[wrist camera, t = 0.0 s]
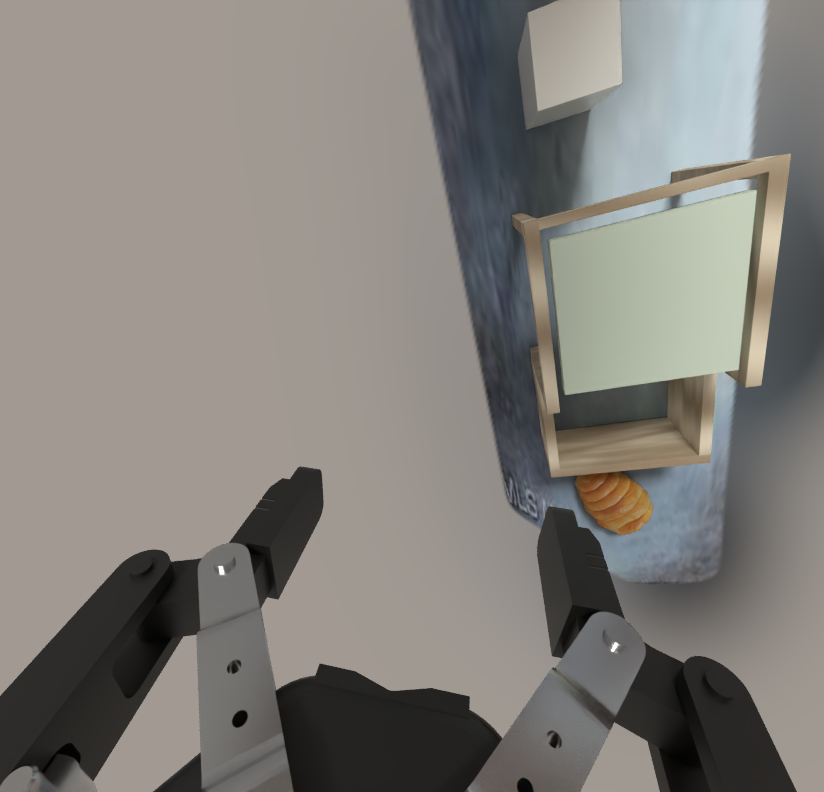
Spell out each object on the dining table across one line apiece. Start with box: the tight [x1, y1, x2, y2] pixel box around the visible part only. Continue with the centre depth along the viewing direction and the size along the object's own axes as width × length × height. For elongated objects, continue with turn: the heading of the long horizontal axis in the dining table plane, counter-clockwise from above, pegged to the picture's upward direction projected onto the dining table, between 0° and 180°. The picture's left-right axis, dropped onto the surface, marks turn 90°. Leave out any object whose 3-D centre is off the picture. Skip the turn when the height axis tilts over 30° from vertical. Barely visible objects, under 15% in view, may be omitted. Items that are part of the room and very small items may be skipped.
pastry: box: [575, 471, 653, 535], centre depth 45 cm, size 9×7×4 cm
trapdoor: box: [547, 190, 757, 395], centre depth 26 cm, size 11×11×1 cm
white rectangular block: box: [518, 0, 622, 130], centre depth 27 cm, size 5×5×8 cm
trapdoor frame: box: [511, 154, 791, 478], centre depth 33 cm, size 24×14×12 cm, turn 15°
